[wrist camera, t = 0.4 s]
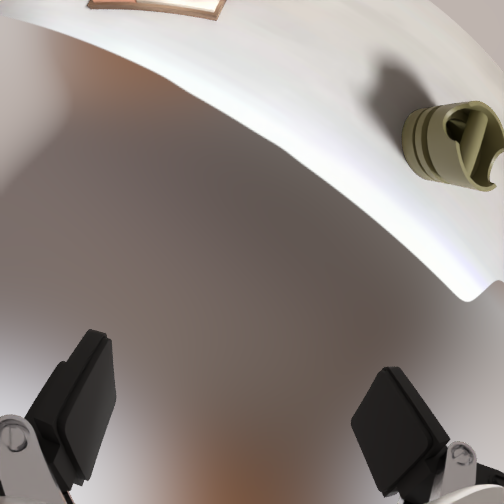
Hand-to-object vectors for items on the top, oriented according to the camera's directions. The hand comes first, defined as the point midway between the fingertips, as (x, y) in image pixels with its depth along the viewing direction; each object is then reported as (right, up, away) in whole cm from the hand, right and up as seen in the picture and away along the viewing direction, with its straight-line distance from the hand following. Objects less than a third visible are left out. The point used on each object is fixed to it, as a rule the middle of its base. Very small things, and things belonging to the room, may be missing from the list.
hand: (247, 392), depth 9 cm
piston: (+27, +21, +28) cm, 44 cm away
